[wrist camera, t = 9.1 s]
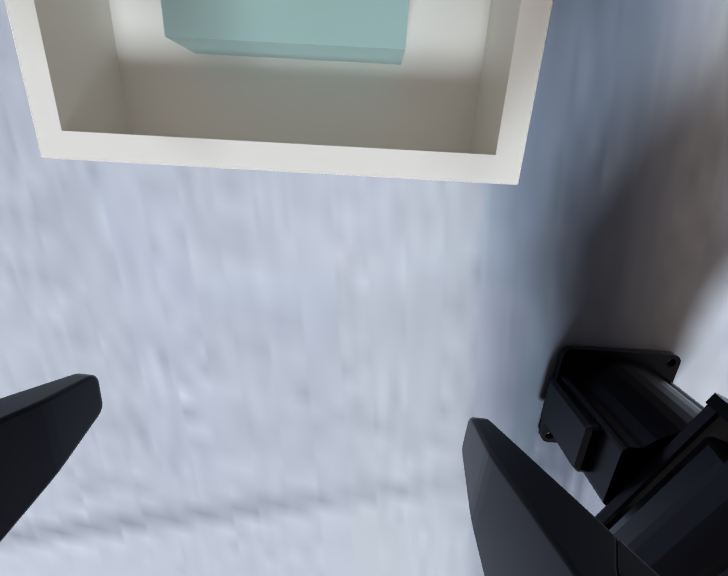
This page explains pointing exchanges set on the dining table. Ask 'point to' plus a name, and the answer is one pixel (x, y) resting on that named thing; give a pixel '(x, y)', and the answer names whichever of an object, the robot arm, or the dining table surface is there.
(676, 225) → the dining table surface
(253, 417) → the dining table surface
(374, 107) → the box
